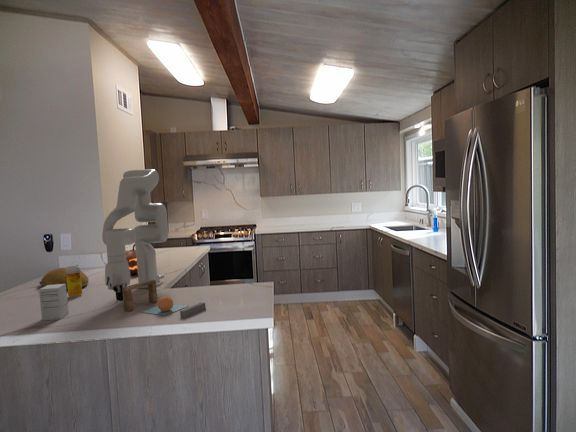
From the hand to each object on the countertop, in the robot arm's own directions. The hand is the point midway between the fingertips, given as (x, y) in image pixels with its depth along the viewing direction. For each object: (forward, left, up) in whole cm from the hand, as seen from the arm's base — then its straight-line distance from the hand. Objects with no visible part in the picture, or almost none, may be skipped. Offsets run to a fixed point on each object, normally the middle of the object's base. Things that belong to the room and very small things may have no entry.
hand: (120, 300), depth 179 cm
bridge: (0, +13, -2) cm, 13 cm away
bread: (-16, -64, -2) cm, 66 cm away
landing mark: (0, +27, -2) cm, 27 cm away
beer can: (-2, -35, -2) cm, 35 cm away
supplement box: (+23, -10, -2) cm, 25 cm away
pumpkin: (-53, -53, -2) cm, 75 cm away
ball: (+2, +29, +2) cm, 29 cm away
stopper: (0, +42, -2) cm, 42 cm away
